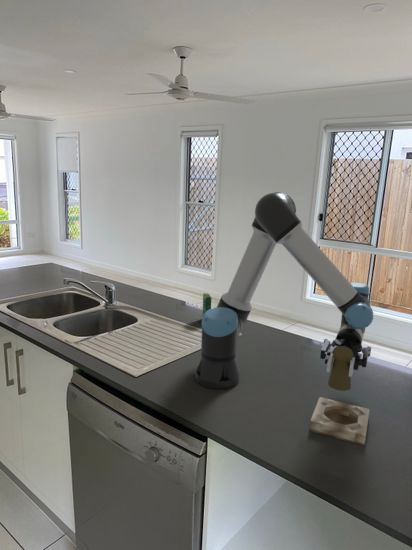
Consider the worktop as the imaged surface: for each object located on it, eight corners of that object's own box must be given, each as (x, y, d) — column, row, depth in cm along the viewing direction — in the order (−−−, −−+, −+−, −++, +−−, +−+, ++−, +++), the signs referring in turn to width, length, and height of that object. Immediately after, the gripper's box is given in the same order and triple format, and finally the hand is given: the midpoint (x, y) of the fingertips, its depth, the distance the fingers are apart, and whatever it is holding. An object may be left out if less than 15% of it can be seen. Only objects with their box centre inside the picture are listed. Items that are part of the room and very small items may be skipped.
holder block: (309, 430, 108) (310, 420, 108) (318, 405, 121) (319, 396, 120) (364, 446, 103) (365, 435, 102) (368, 418, 115) (369, 409, 114)
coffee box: (201, 318, 195) (202, 292, 192) (207, 318, 195) (208, 292, 192) (204, 324, 187) (205, 297, 184) (210, 324, 188) (211, 297, 185)
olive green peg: (352, 391, 106) (357, 353, 104) (329, 389, 108) (332, 351, 105) (349, 381, 112) (353, 344, 110) (326, 378, 113) (330, 342, 111)
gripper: (378, 356, 121) (374, 390, 101) (318, 345, 129) (303, 375, 108) (381, 333, 120) (378, 363, 99) (320, 323, 127) (305, 349, 106)
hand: (339, 369), depth 104 cm, fingers closed on olive green peg, 5 cm apart
